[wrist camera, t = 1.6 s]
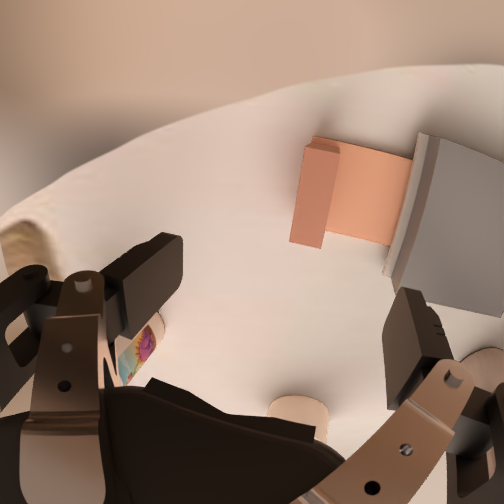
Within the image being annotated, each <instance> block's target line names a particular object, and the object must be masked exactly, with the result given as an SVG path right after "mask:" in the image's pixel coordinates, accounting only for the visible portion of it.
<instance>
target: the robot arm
mask: <svg viewBox="0 0 504 504" xmlns="http://www.w3.org/2000/svg"><path fill="white" fill-rule="evenodd" d="M182 276H183V239H182V237H181V236H178V235H174V234H169V233H165V232H161V233H160V234H158V235H157V236H155V237H154V238H152V239H151V240H150V241H147V242H144V243H141V244H139V245H136V246H134V247H133V248H131V249H130V250H129V251H127V253H124V254H123V255H122V256H120V258H117V259H116V260H115V261H113V262H112V263H111V264H109V265H108V266H106V267H105V268H104V269H102V270H101V271H100V272H96V271H90V270H85V271H79V272H76V273H73V274H71V275H70V276H68V277H67V278H66V279H65V280H64V282H61V281H53V280H50V279H49V274H48V270H47V268H46V267H45V266H43V265H29V266H26V267H23V268H21V269H19V270H18V271H17V272H15V273H14V274H12V275H11V276H9V277H8V278H7V279H5V280H4V281H3V282H1V283H0V413H1V411H2V410H3V409H4V408H5V407H6V405H7V404H8V403H9V402H10V401H11V399H12V398H13V397H14V396H15V395H16V394H17V393H18V391H19V390H20V389H21V388H22V387H23V385H24V384H25V383H26V382H27V381H28V380H29V379H30V377H32V375H33V374H34V373H35V374H34V381H33V389H32V397H31V406H30V411H27V412H23V413H19V414H15V415H11V416H6V417H2V418H0V504H407V503H408V502H409V501H410V500H411V498H412V497H413V496H414V495H415V493H416V492H417V491H418V489H419V488H420V487H421V485H422V484H423V483H424V481H425V480H426V479H427V477H428V476H429V474H430V473H431V471H432V470H433V468H434V467H435V465H436V464H437V462H438V461H439V459H440V458H441V456H442V455H443V453H444V451H446V458H447V504H504V352H503V351H502V350H500V349H498V348H487V349H483V350H480V351H478V352H475V353H473V354H472V355H470V356H468V357H467V358H465V359H464V360H463V361H462V362H461V363H460V362H458V361H455V360H454V358H453V355H452V352H451V349H450V346H449V343H448V340H447V338H446V336H445V332H444V329H443V328H442V324H441V321H440V318H439V316H438V315H437V314H436V313H435V311H434V310H433V309H432V308H431V307H429V306H427V305H426V302H425V299H424V297H423V294H422V292H421V291H420V290H415V289H411V288H407V287H400V289H399V290H398V292H397V295H396V297H395V300H394V302H393V305H392V307H391V310H390V312H389V314H388V317H387V319H386V321H385V324H384V328H383V332H382V343H383V353H384V365H385V377H386V393H387V410H395V412H394V414H393V415H392V416H391V417H390V418H389V419H388V420H387V421H386V422H385V423H384V424H383V425H382V426H381V427H380V428H379V429H378V430H377V432H376V433H375V434H374V435H373V436H372V437H371V438H370V439H369V440H367V441H366V442H365V443H364V444H363V445H362V446H361V447H360V448H359V449H358V450H357V451H356V452H355V453H354V454H353V455H352V456H351V457H349V458H348V459H347V460H345V459H344V458H343V457H342V456H341V455H340V454H339V453H338V452H337V451H335V450H334V449H332V448H331V447H330V446H328V445H326V444H324V443H323V442H321V441H319V440H316V439H314V437H315V431H316V426H312V425H307V424H302V423H297V422H293V421H288V420H284V419H280V418H275V417H260V416H244V415H232V414H227V413H224V412H222V411H220V410H219V409H217V408H215V407H213V406H212V405H210V404H208V403H207V402H205V401H203V400H202V399H200V398H199V397H197V396H195V395H194V394H192V393H190V392H189V391H186V390H184V389H181V388H178V387H175V386H173V385H170V384H168V383H165V382H163V381H160V380H157V379H155V378H153V377H152V378H151V379H150V381H149V382H148V384H147V385H146V386H145V387H139V386H120V380H119V369H118V357H117V345H116V340H115V339H116V338H117V337H118V336H119V335H120V336H123V337H125V338H127V339H130V340H132V339H133V338H134V337H135V336H136V335H137V333H138V332H139V331H140V330H141V329H142V328H143V327H144V326H145V324H146V323H147V322H148V321H149V320H150V319H151V318H152V317H153V315H154V314H155V313H156V312H157V311H158V310H159V309H160V308H161V307H162V305H163V304H164V303H165V302H166V301H167V300H168V299H169V298H170V297H171V295H172V294H173V293H174V292H175V291H176V290H177V289H178V287H179V286H180V283H181V280H182ZM22 313H24V316H25V319H26V322H27V324H28V328H27V329H25V330H24V331H23V332H22V333H21V334H20V335H19V336H18V337H17V338H16V339H15V340H14V341H13V342H12V343H11V344H10V345H9V346H8V344H7V342H6V339H5V331H6V328H7V326H8V325H9V324H10V323H11V322H13V321H14V320H15V319H16V318H17V317H18V316H19V315H21V314H22Z"/></svg>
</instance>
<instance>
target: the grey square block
mask: <svg viewBox="0 0 504 504" xmlns="http://www.w3.org/2000/svg"><path fill="white" fill-rule="evenodd" d="M382 273H383V276H387V277H391V280H392V283H393V287H394V291H395V295H397V292H398V290H399V289H400V287H407V288H411V289H415V290H420V291H421V292H422V294H423V297H424V299H425V302H430V303H434V304H439V305H443V306H448V307H453V308H457V309H462V310H467V311H471V312H476V313H480V314H485V315H490V316H495V317H499V318H501V316H502V314H503V312H504V163H503V162H501V161H499V160H497V159H494V158H492V157H490V156H487V155H485V154H483V153H480V152H478V151H475V150H473V149H470V148H468V147H465V146H463V145H460V144H457V143H455V142H452V141H449V140H446V139H443V138H440V137H435V136H429V135H426V134H423V133H419V132H418V137H417V142H416V147H415V152H414V157H413V162H412V167H411V171H410V176H409V180H408V184H407V188H406V192H405V196H404V200H403V204H402V208H401V212H400V215H399V219H398V223H397V226H396V230H395V233H394V236H393V240H392V243H391V246H390V249H389V253H388V256H387V259H386V262H385V265H384V268H383V271H382Z"/></svg>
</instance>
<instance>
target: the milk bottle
mask: <svg viewBox="0 0 504 504" xmlns="http://www.w3.org/2000/svg"><path fill="white" fill-rule="evenodd" d="M164 332H165V331H164V323H163V321H162V319H161V317H160V315H159V314H158V312H156V313H155V314H154V315H153V317H152V318H151V319H150V320H149V321H148V322H147V323H146V324H145V326H144V327H143V328H142V329H141V330H140V331H139V332H138V333H137V335H136V336H135V337H134V338H133V339H132V340H130V339H127V338H125V337H123V336H120V335H119V336H118V337H117V338H116V339H115V340H116V345H117V357H118V369H119V380H120V386H126V385H127V384H128V383H129V382H130V380H131V379H132V378H133V377H134V375H135V374H136V373H137V371H138V370H139V369H140V368H141V366H142V365H143V364H144V363H145V361H146V360H147V359H148V357H149V356H150V355H151V353H152V352H153V351H154V350H155V348H156V347H157V346H158V344H159V343H160V342H161V340H162V339H163V337H164Z"/></svg>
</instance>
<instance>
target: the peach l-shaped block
mask: <svg viewBox="0 0 504 504" xmlns="http://www.w3.org/2000/svg"><path fill="white" fill-rule="evenodd" d="M412 162H413V160H411V159H407V158H404V157H400V156H397V155H393V154H389V153H386V152H382V151H378V150H374V149H370V148H366V147H362V146H357V145H353V144H349V143H344V142H339V141H335V140H330V139H325V138H320V137H315V136H312V142H311V143H310V144H308V145H307V146H306V147H305V150H304V156H303V163H302V169H301V175H300V181H299V187H298V193H297V199H296V205H295V211H294V216H293V222H292V228H291V233H290V239H289V242H292V243H297V244H301V245H306V246H310V247H315V248H319V249H321V246H322V242H323V237H324V233H325V231H329V232H334V233H338V234H342V235H347V236H351V237H355V238H359V239H364V240H368V241H372V242H376V243H380V244H384V245H388V246H391V243H392V240H393V236H394V233H395V230H396V226H397V223H398V219H399V215H400V212H401V208H402V204H403V200H404V196H405V192H406V188H407V184H408V180H409V176H410V171H411V167H412Z"/></svg>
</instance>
